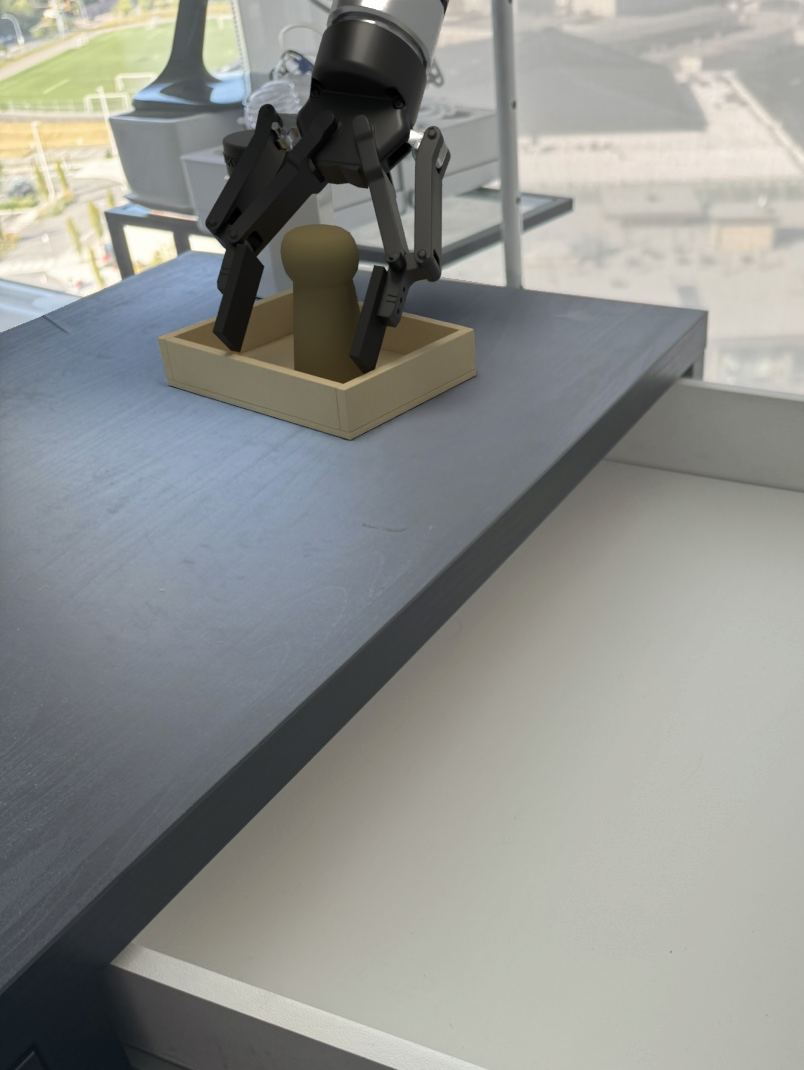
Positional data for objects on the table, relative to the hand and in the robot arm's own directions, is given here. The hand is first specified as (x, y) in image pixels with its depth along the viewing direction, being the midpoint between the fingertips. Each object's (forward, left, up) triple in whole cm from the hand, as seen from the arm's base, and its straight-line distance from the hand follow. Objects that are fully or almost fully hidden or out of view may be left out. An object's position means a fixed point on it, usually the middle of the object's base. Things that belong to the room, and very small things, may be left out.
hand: (293, 354), depth 80 cm
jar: (-20, +21, -4) cm, 29 cm away
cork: (0, +4, -4) cm, 5 cm away
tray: (-3, +6, -4) cm, 7 cm away
